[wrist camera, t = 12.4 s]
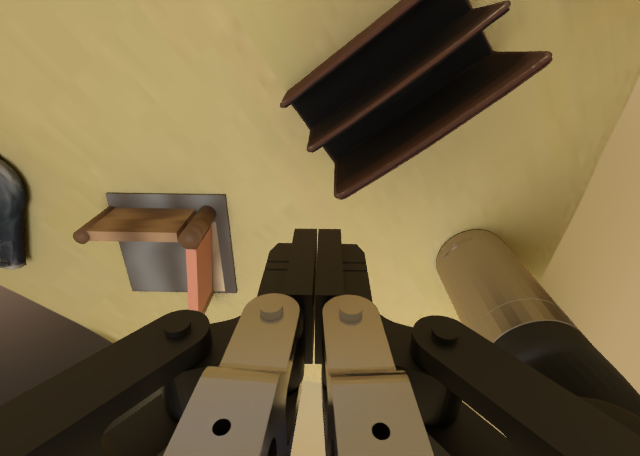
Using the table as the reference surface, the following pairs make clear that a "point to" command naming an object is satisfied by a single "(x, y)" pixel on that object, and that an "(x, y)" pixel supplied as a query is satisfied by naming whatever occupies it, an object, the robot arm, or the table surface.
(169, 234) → the grey and brown panels
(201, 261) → the swing panel
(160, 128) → the table surface
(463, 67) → the letter holder
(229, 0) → the table surface
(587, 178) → the table surface
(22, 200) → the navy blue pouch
